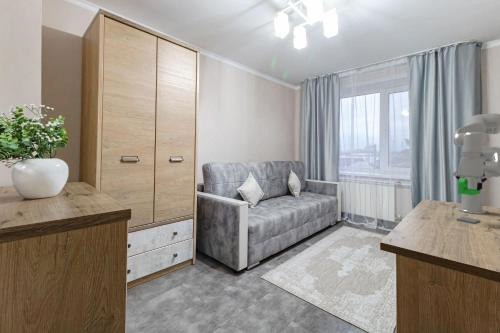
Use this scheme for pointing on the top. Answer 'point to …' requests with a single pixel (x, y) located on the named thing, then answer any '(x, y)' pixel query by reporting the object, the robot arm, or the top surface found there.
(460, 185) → the mechanical part
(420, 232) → the top surface
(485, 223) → the top surface
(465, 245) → the top surface
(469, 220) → the dark rubber pad
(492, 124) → the robot arm
